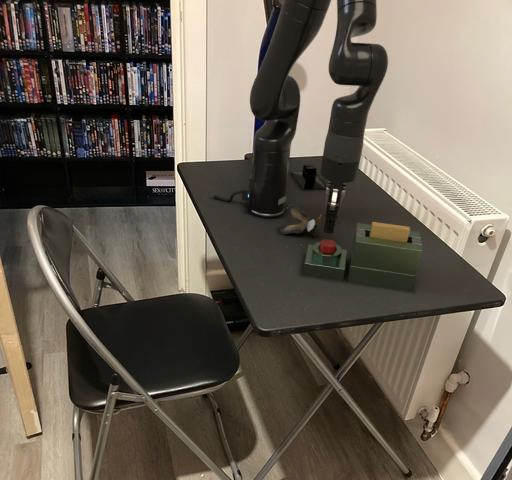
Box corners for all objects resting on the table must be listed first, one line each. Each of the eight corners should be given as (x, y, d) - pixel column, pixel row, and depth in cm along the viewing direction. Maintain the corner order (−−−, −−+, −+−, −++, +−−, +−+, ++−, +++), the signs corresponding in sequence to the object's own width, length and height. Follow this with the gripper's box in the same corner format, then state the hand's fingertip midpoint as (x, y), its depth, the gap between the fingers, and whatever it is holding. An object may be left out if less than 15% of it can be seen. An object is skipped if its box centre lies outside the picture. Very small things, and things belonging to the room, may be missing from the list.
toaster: (347, 281, 126) (355, 241, 120) (349, 261, 133) (356, 222, 127) (411, 291, 125) (422, 251, 119) (409, 270, 132) (420, 231, 126)
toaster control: (302, 274, 127) (305, 255, 124) (306, 255, 134) (309, 236, 131) (342, 281, 126) (346, 261, 123) (344, 261, 133) (348, 242, 130)
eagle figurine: (319, 222, 146) (285, 211, 146) (325, 208, 139) (290, 196, 139) (310, 248, 143) (276, 236, 143) (316, 234, 136) (280, 222, 136)
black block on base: (291, 173, 174) (292, 158, 171) (313, 173, 175) (315, 158, 172) (303, 190, 164) (305, 174, 161) (327, 189, 166) (329, 173, 163)
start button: (318, 252, 126) (319, 245, 125) (319, 245, 129) (321, 238, 128) (334, 255, 126) (336, 248, 125) (335, 247, 128) (336, 240, 127)
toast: (364, 259, 126) (372, 224, 121) (364, 256, 127) (372, 221, 122) (401, 265, 126) (410, 230, 120) (400, 261, 127) (409, 226, 122)
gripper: (326, 140, 119) (314, 216, 130) (320, 162, 109) (308, 243, 120) (362, 145, 119) (347, 221, 129) (359, 168, 108) (343, 248, 119)
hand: (328, 231), depth 124 cm, fingers closed
